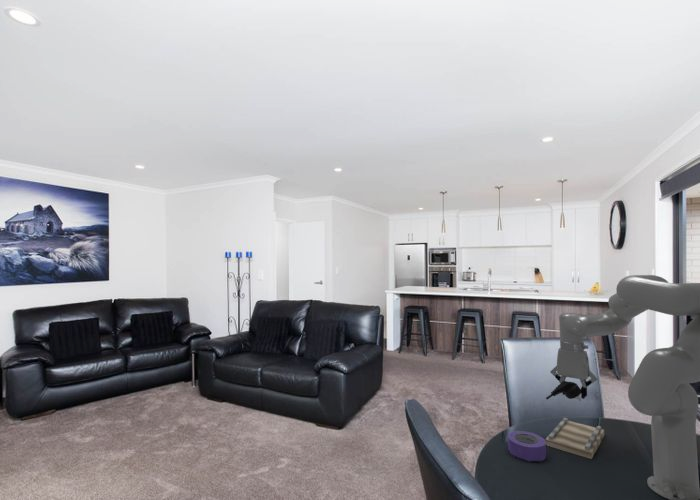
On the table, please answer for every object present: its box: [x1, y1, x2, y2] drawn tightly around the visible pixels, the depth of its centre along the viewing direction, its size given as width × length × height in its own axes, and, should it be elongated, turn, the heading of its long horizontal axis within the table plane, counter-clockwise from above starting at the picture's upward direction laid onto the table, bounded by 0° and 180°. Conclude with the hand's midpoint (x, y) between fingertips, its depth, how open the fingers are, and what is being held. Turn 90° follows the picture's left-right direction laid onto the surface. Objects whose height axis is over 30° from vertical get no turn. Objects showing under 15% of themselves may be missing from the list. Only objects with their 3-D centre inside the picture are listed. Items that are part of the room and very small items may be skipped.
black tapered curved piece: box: [545, 380, 582, 402], centre depth 132 cm, size 6×8×12 cm
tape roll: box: [507, 430, 547, 462], centre depth 124 cm, size 12×12×5 cm
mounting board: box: [544, 417, 606, 460], centre depth 133 cm, size 24×14×3 cm, turn 136°
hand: (573, 395), depth 134 cm, fingers closed on black tapered curved piece, 5 cm apart
